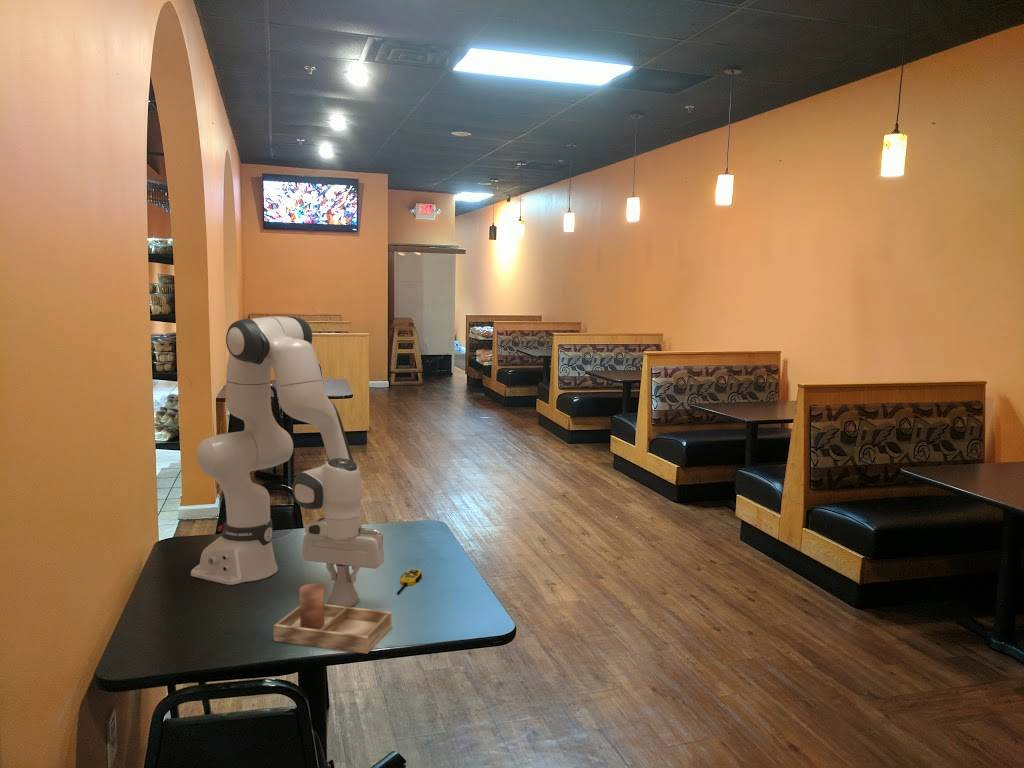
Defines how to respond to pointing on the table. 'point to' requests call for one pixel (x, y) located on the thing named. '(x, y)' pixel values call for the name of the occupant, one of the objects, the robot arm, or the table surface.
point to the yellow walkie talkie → (410, 578)
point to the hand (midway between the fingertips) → (343, 581)
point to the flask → (343, 589)
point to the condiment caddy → (331, 624)
